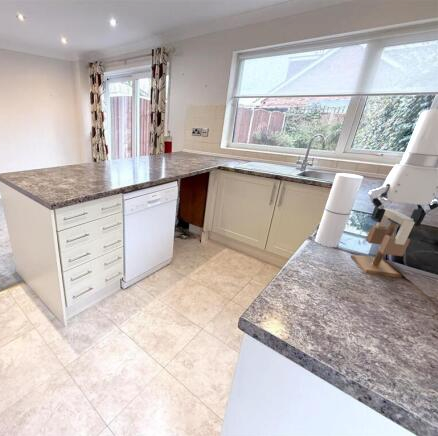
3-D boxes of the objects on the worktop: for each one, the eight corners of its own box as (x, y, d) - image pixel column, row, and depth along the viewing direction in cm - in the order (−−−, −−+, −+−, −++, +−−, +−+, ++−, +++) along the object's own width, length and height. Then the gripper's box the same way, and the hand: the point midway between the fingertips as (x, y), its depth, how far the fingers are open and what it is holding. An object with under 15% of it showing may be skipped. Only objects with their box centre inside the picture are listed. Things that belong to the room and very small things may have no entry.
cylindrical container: (310, 240, 91) (331, 174, 82) (322, 236, 94) (343, 172, 85) (331, 249, 85) (356, 178, 76) (342, 244, 88) (368, 176, 79)
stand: (382, 261, 79) (403, 215, 72) (401, 278, 71) (427, 227, 64) (350, 257, 81) (368, 212, 74) (365, 273, 73) (387, 223, 66)
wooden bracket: (382, 241, 77) (396, 208, 73) (404, 257, 68) (422, 221, 64) (364, 239, 78) (377, 206, 74) (383, 255, 69) (400, 219, 65)
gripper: (451, 160, 64) (421, 221, 71) (374, 156, 68) (352, 214, 75) (478, 165, 58) (442, 232, 65) (391, 161, 62) (366, 224, 68)
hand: (394, 222), depth 70 cm, fingers open, 8 cm apart
